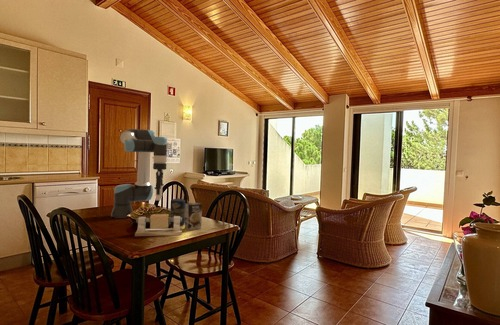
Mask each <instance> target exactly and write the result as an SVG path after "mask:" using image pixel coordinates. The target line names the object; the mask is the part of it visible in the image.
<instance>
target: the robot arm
mask: <svg viewBox="0 0 500 325" xmlns="http://www.w3.org/2000/svg"><path fill="white" fill-rule="evenodd" d="M119 140H120V142H121V143H122V144H123V147H124V152H128V153H129V152H130V153H135V152H136V153H138V155H137V156H138V158H137V173H136V175H137V176H136V182H134V185H132V183H125V184H119V185H116V186H115V187H114V189H113V190H114V192H113V197H114V198H113V208H112V211H111V213H110V218H112V217H114V218H113V219H128V218H127V215H128V214H130V213H131V212H133V213H134V210H133V208H132V207H133V206H132V203H134V202H148V201H150V200H151V199H152V197H153V193H154V190H155V201H161V198H162V197H163V188H164V184H163V183H164V182H163V180H164V171H163V170H167V163H168V162H167V160H168V159H167V157H168V156H167V152H168V138H167V137H166V136H156V134H155V131H154V130H150V129H142V128H141V129H140V128H139V129H137V128H130V129H126V130H123V131H121V133H120V136H119ZM151 153H153V156H152V157H151ZM151 159H153V161H152V162H153V164H152V166H153V167H152V169H153V170H157V171H156V172H155V179H156V180H155V187H154V186H153V185H152V184H151V182H150V171H151V169H150V168H151Z"/></svg>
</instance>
